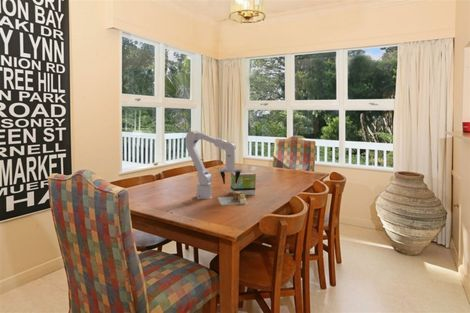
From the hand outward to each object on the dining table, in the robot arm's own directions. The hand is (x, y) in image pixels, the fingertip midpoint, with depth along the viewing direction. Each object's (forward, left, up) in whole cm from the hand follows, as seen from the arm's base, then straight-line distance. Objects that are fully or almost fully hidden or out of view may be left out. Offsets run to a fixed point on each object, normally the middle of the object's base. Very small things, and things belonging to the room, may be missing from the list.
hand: (230, 183), depth 199 cm
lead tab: (+6, -10, -10) cm, 15 cm away
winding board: (0, -5, -10) cm, 11 cm away
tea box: (+11, +13, -11) cm, 20 cm away
